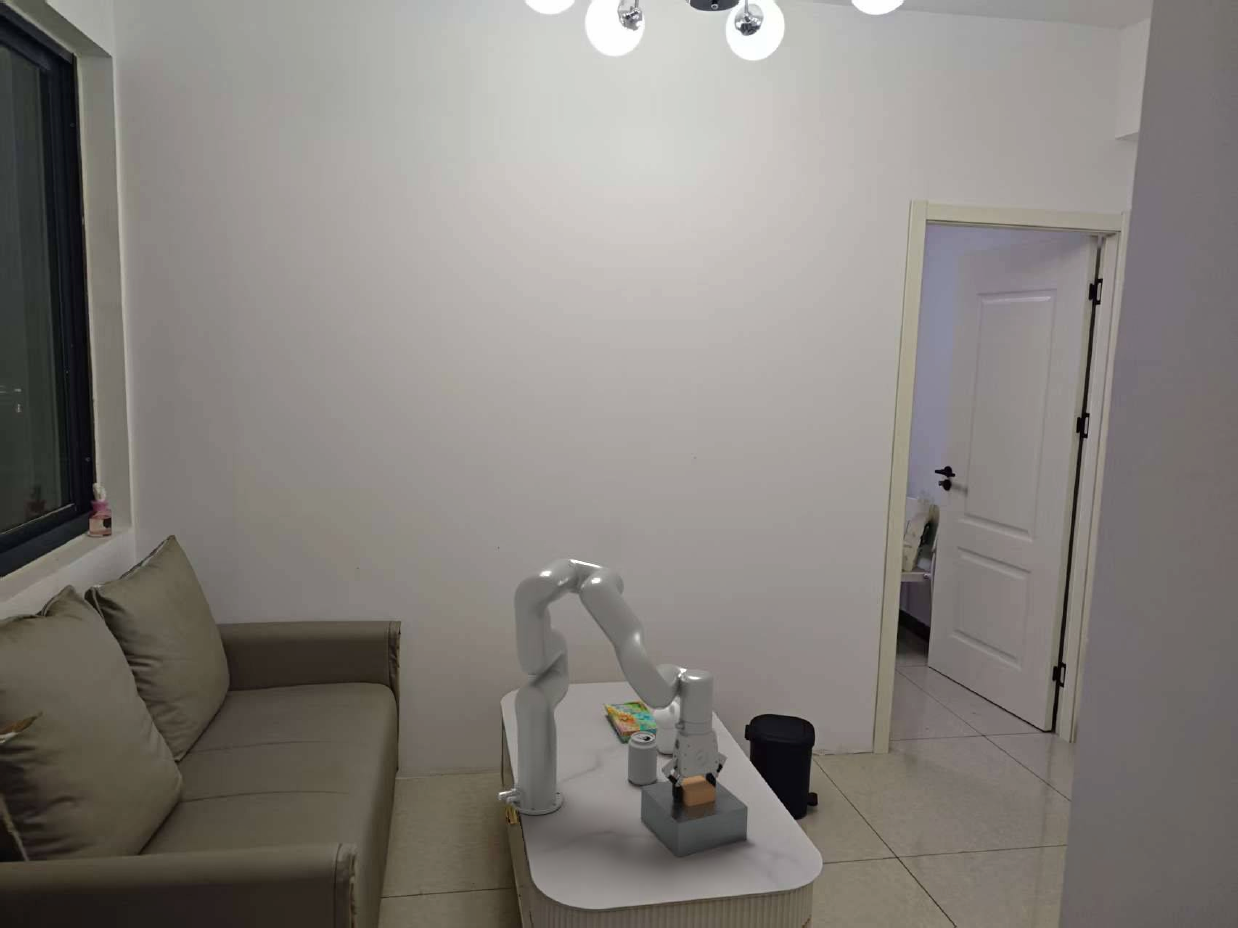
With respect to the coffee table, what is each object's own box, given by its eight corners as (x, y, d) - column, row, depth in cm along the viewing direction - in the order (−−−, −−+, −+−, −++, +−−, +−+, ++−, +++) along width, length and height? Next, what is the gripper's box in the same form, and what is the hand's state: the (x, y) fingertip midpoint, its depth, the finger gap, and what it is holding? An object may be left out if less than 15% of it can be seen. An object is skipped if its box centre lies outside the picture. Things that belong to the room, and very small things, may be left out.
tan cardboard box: (688, 831, 203) (689, 794, 202) (673, 816, 209) (674, 780, 208) (714, 824, 206) (715, 787, 205) (698, 810, 212) (700, 774, 211)
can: (654, 788, 227) (655, 743, 225) (625, 784, 228) (626, 740, 227) (658, 774, 234) (659, 731, 232) (630, 771, 235) (631, 728, 234)
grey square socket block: (677, 857, 196) (678, 823, 195) (640, 818, 212) (641, 786, 211) (746, 839, 204) (747, 806, 203) (705, 802, 220) (706, 772, 219)
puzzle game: (621, 728, 251) (604, 701, 271) (621, 744, 252) (604, 716, 271) (660, 725, 254) (641, 698, 273) (660, 740, 255) (641, 713, 274)
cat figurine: (647, 746, 251) (647, 695, 249) (688, 739, 255) (688, 689, 253) (659, 760, 242) (659, 707, 240) (701, 753, 247) (701, 701, 244)
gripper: (670, 737, 197) (668, 811, 200) (736, 724, 205) (734, 795, 207) (654, 724, 204) (653, 796, 206) (719, 712, 212) (717, 781, 214)
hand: (694, 795), depth 207 cm, fingers open, 8 cm apart
